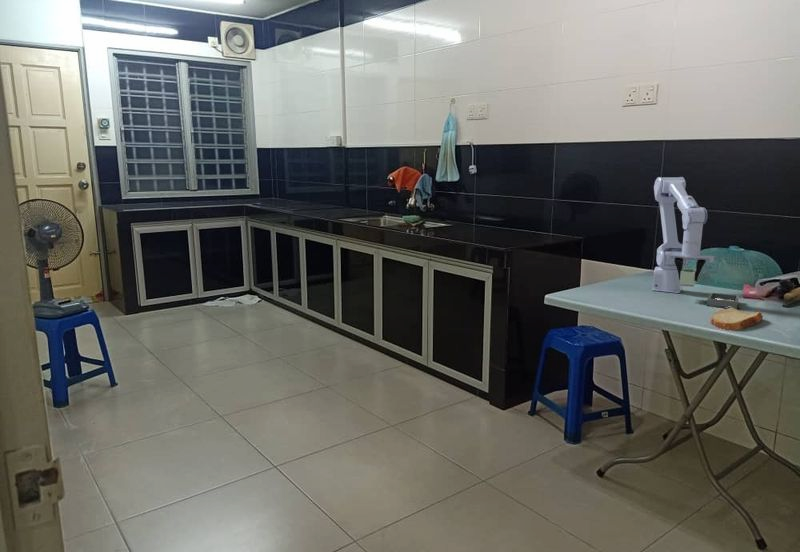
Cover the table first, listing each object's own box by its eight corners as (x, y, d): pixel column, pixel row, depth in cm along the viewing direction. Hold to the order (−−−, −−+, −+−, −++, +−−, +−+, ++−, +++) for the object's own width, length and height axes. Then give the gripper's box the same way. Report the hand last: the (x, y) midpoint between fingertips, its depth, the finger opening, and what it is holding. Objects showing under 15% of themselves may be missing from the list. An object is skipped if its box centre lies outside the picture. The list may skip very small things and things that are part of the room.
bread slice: (721, 331, 164) (723, 319, 163) (694, 315, 182) (695, 304, 181) (785, 332, 163) (787, 320, 162) (751, 315, 181) (753, 304, 180)
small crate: (679, 285, 198) (680, 271, 197) (682, 281, 203) (683, 268, 202) (693, 286, 195) (694, 272, 194) (695, 283, 201) (697, 269, 200)
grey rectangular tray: (706, 305, 192) (707, 298, 192) (710, 299, 201) (710, 292, 201) (736, 309, 187) (737, 302, 187) (738, 302, 197) (739, 295, 196)
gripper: (667, 242, 197) (664, 279, 200) (714, 245, 189) (709, 284, 192) (670, 239, 203) (667, 276, 206) (716, 242, 195) (711, 280, 198)
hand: (688, 279), depth 199 cm, fingers closed on small crate, 4 cm apart
